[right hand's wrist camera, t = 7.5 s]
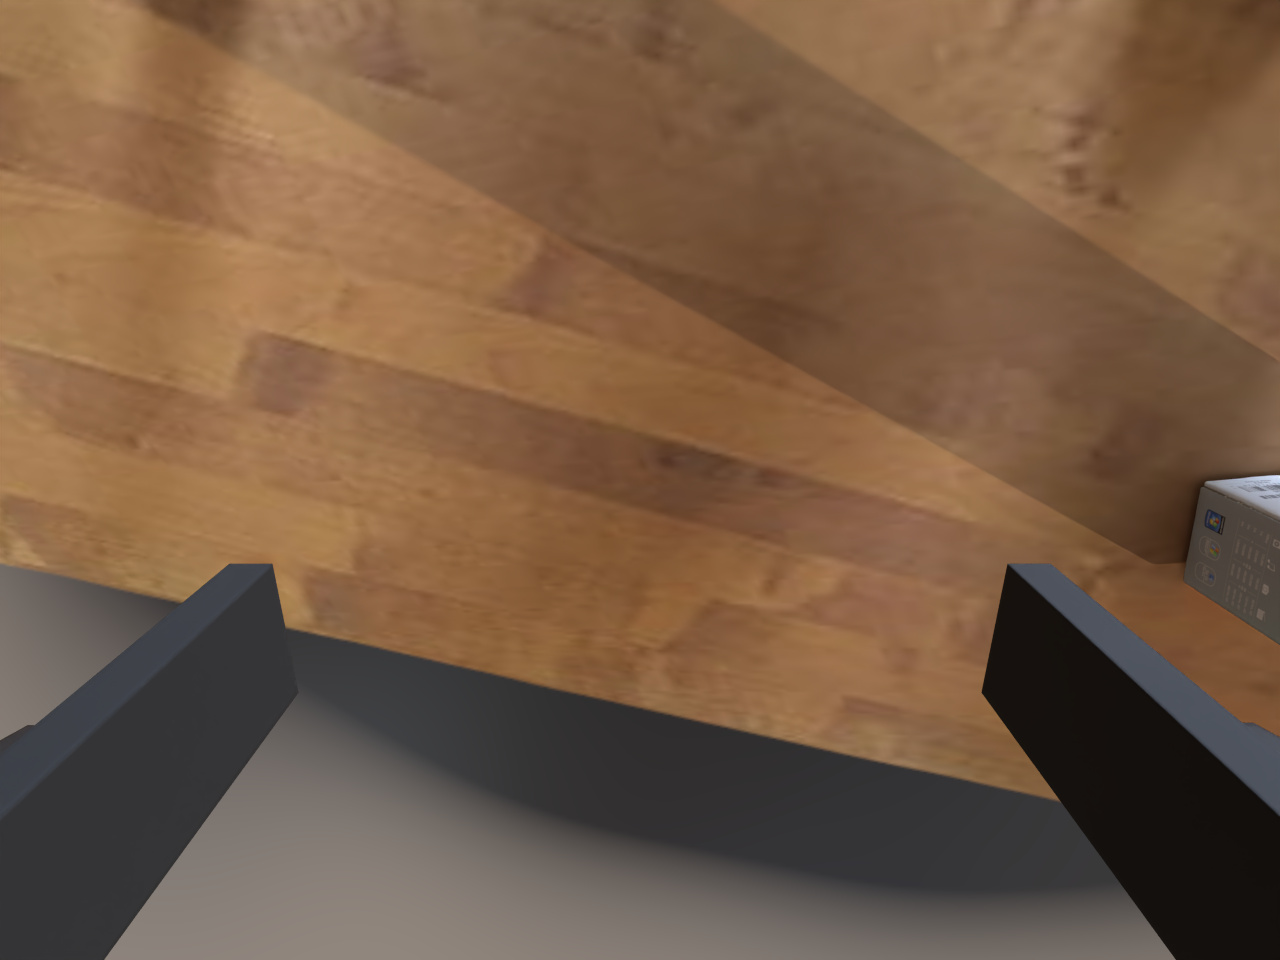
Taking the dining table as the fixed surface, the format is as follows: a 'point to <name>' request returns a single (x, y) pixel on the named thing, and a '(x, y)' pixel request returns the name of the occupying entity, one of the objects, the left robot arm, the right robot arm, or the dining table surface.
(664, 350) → the dining table surface
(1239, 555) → the hard drive box
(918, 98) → the dining table surface
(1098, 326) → the dining table surface
